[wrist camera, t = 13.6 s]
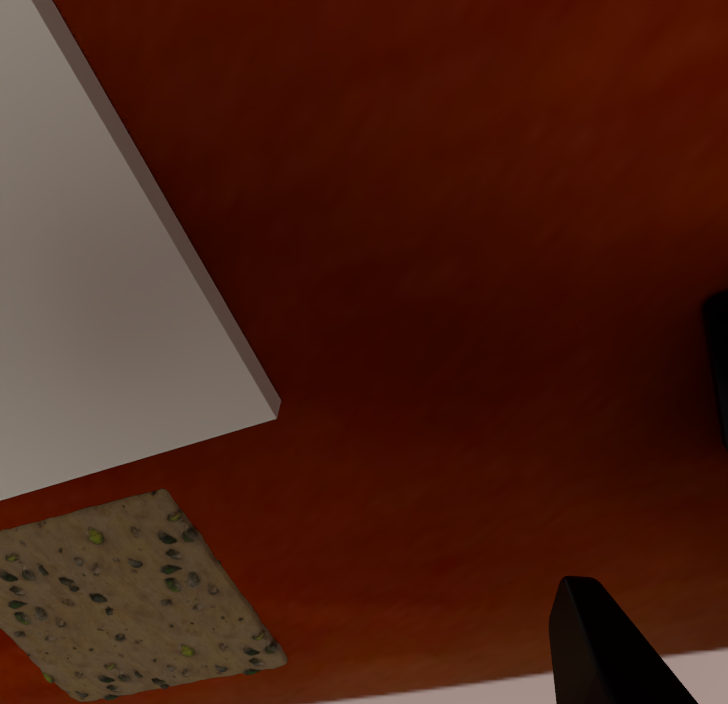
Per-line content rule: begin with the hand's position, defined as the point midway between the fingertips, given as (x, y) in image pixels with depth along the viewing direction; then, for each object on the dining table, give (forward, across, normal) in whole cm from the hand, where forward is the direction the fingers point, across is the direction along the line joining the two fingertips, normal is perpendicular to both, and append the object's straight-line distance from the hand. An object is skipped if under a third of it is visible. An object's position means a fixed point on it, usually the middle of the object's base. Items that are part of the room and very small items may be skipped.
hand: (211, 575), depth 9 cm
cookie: (+14, +9, +19) cm, 25 cm away
